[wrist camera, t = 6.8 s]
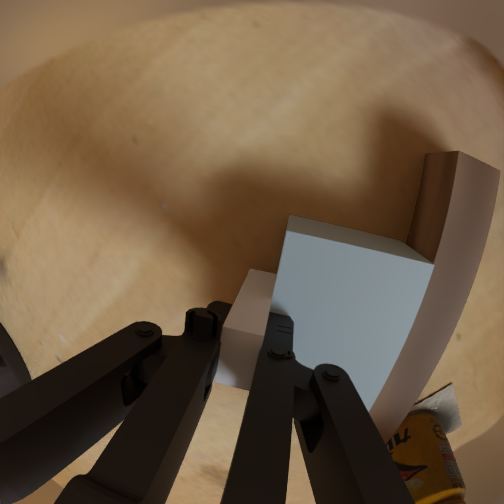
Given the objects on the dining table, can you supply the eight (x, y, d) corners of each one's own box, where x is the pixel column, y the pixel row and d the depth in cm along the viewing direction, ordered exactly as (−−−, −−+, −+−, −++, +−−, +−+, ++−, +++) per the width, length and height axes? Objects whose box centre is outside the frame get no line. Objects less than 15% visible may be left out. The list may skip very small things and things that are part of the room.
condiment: (362, 428, 20) (378, 549, 9) (451, 382, 18) (506, 491, 7) (385, 461, 21) (399, 558, 10) (460, 423, 19) (498, 513, 8)
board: (336, 416, 20) (339, 454, 16) (426, 153, 14) (458, 150, 11) (369, 419, 20) (377, 455, 16) (464, 169, 14) (500, 170, 10)
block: (260, 345, 19) (248, 393, 15) (289, 214, 17) (286, 230, 12) (356, 362, 19) (369, 411, 14) (400, 240, 16) (434, 265, 11)
